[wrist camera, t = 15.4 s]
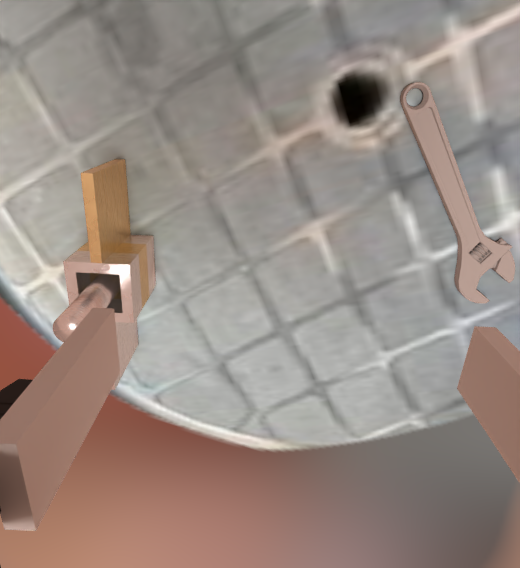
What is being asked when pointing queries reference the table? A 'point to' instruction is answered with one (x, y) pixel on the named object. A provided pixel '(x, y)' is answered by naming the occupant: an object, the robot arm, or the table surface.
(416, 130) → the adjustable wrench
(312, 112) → the table surface
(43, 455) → the robot arm
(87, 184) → the hinge
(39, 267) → the table surface
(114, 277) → the hinge pin
